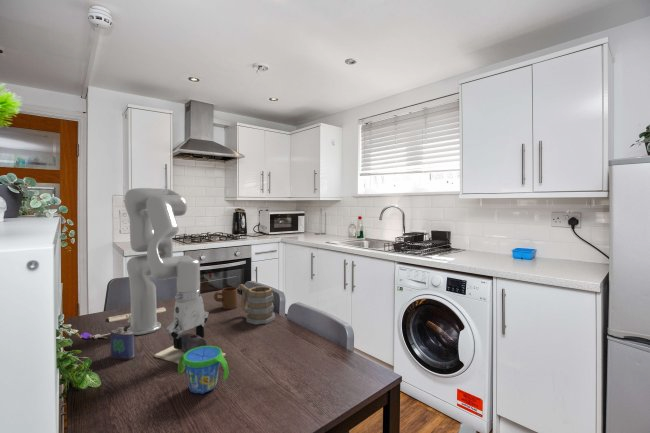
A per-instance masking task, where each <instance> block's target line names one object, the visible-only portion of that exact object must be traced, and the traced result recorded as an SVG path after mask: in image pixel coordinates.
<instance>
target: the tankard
mask: <svg viewBox="0 0 650 433" xmlns="http://www.w3.org/2000/svg"><path fill="white" fill-rule="evenodd" d="M237 290H242V297H241V301H240V302H241V303H240V304H241V309H242V311H243V313H246V321H245V322H246V323H249V324H252V325H264V324H269V323H271V322H273V321H275V320H276V316H275V312H274V307H275V306H274V303H273V301H274V294H273V293H274V292H273V290H272V287H270V286H264V285H263V286H254V287H251V288H250V287H249V288H248V287H247V286H245V284H244V283H241V284H239V285H237ZM246 302H247V303H248V304H247V303H246Z"/></svg>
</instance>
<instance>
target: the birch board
mask: <svg viewBox="0 0 650 433" xmlns="http://www.w3.org/2000/svg"><path fill="white" fill-rule="evenodd" d="M184 354H185V353H184V352H182V351H181V350H179V349H175V348H174V344H173V345H171V346H169V347H167V348H165V349H163V350H160V351H159V352H157V353H155V354H154V357H155V358H158V359H161V360H165V361H168V362H171V363H175V364H178V363H179V360H180V357H181V356H182V355H184ZM222 356H223V357H224V358H225V357H226V353H225V352H222ZM184 365H185V364H184Z"/></svg>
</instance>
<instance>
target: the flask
mask: <svg viewBox="0 0 650 433" xmlns="http://www.w3.org/2000/svg"><path fill="white" fill-rule="evenodd" d="M134 337H135V335H134V332H127V330H126V331H125V326H122V327H121V326H119V327H117V328H116V329H113V330H111V331H110V358H112V359H117V360H126V361H127V360H133V359H134V358H135V342H134V341H135V340H134V339H135V338H134Z"/></svg>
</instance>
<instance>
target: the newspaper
mask: <svg viewBox="0 0 650 433" xmlns="http://www.w3.org/2000/svg"><path fill="white" fill-rule="evenodd" d="M166 312H167V309H166V308H165V307H158V308H157V314H160V313H166ZM107 319H108V322H109V323H113V322H117V321H124V320H129V319H131V312H130V313H125V314H120V315H114V316H110V317H107Z"/></svg>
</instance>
